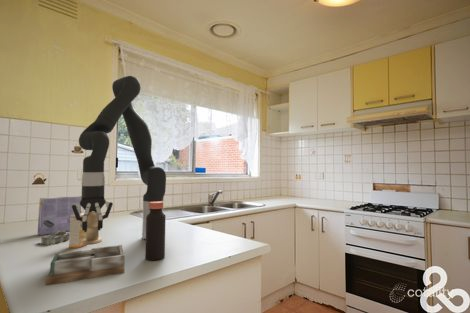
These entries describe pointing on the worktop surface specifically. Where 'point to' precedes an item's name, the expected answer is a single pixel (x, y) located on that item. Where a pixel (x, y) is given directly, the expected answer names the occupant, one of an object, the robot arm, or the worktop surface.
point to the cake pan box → (56, 214)
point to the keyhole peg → (92, 229)
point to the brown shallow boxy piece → (86, 264)
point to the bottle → (155, 232)
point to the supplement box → (76, 232)
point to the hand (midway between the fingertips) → (92, 230)
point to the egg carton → (55, 238)
